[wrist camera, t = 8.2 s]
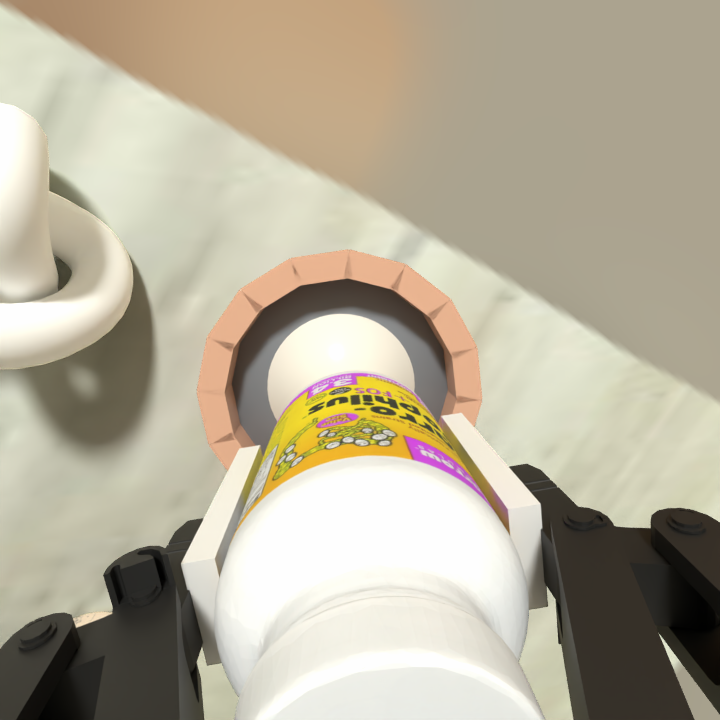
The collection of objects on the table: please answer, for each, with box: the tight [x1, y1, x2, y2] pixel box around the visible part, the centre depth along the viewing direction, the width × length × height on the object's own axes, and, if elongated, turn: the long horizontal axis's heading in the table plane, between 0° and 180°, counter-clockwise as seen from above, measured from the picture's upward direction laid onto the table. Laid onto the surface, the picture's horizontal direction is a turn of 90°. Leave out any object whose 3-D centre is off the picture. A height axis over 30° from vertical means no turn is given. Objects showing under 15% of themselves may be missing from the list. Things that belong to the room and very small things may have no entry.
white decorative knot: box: [0, 103, 133, 369], centre depth 22 cm, size 11×12×9 cm
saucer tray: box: [197, 250, 482, 471], centre depth 28 cm, size 16×16×3 cm
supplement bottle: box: [214, 370, 545, 720], centre depth 12 cm, size 7×7×13 cm
